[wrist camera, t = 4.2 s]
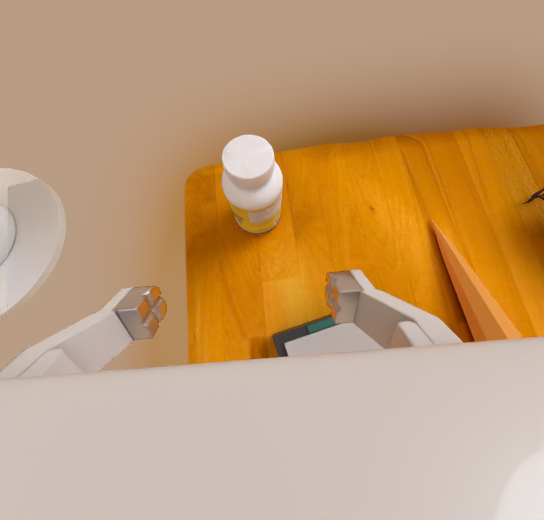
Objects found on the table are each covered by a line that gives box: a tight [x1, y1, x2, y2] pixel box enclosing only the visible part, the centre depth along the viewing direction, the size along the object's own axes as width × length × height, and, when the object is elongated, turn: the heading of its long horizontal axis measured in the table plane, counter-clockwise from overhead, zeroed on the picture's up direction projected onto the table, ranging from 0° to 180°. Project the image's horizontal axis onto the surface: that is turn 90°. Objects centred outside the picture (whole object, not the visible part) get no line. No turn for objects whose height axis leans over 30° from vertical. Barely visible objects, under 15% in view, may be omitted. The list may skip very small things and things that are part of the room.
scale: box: [273, 314, 384, 357], centre depth 22 cm, size 14×14×3 cm
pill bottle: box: [222, 135, 283, 235], centre depth 23 cm, size 6×6×12 cm
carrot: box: [430, 218, 523, 342], centre depth 25 cm, size 20×4×4 cm, turn 12°
